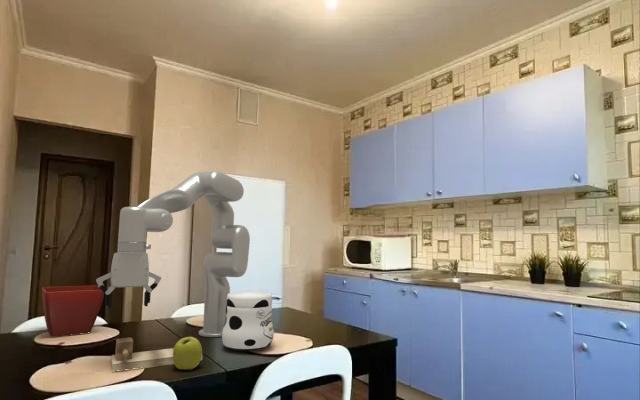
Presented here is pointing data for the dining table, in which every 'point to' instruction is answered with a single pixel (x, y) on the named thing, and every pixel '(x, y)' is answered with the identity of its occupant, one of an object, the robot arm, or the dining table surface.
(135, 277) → the robot arm
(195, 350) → the apple
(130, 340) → the mallet
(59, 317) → the plant pot
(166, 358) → the board
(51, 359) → the dining table surface
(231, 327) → the milk container
